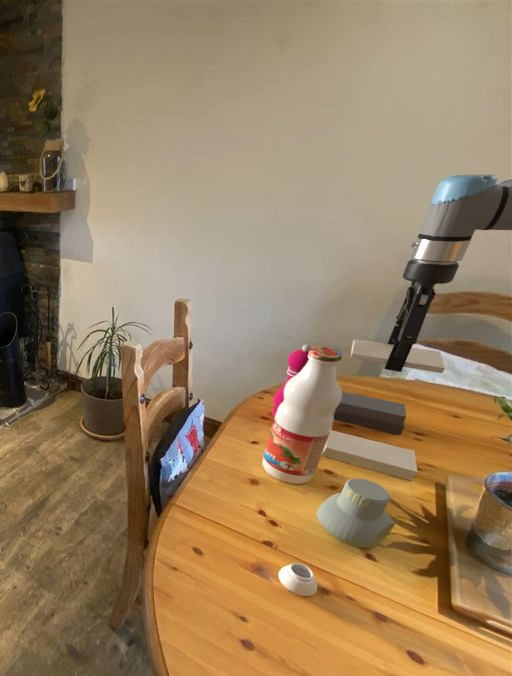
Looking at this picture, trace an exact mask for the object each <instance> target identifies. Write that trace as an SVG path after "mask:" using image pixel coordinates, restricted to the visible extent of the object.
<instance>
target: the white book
mask: <svg viewBox="0 0 512 676" xmlns="http://www.w3.org/2000/svg"><path fill="white" fill-rule="evenodd" d="M393 346H394V345H391V344H387V343H383V342H375V341H370V340H369V341H368V340H364V339H363V340H362V339H356V338H355V339H353V341H352V344H351V352H350V359H354V360H359V361H360V360H361V361H367V362H373V363H378V364H384V365H386V363H387V361H388V358H389V356H390V353H391V351H392V348H393ZM403 368H407V369H408V368H409V369H415V370H420V371H427V372H432V373H438V374H443V373H444V371H445V369H446V368H445V364H444V361H443V356H442V353H441V351H438V350H432V349H423V348H418V347H412V348H411V350H410V352H409V355H408V357H407V359H406V362H405V364H404V366H403Z"/></svg>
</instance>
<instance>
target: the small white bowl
mask: <svg viewBox="0 0 512 676" xmlns="http://www.w3.org/2000/svg"><path fill="white" fill-rule="evenodd" d="M278 579H279V581H280V583H281V584H282V585H283V586H284V587H285V589H287V590H289V591H290V592H292V593H293V594H296V595H298V596H303V597H311V596H313V595H315V594H316V593H317V591H318V583H317V580H316V577H315V575H314V573H313V571H312V569H311V568H310V567H308V566H307V565H305V564H304V563H301V562H292V563H290V564H288V565H287V564H286V565H285V566H283V567H281V569H280V570H279V571H278Z"/></svg>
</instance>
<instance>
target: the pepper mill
mask: <svg viewBox="0 0 512 676" xmlns="http://www.w3.org/2000/svg"><path fill="white" fill-rule="evenodd" d="M311 348H312V346H311V345H310V344H304V345H303V346H302V348H301V349H297V350H294V351H292V352H291V353H290V354H289V356H288V359H287V364H288V365H289V366H288V367H287V371H286V374H287V378H286V380H285V383H284V384H283V385H282V386H281V387H280V388H279V389H278V390H277V392H276V393H275V395H274V397H273V398H272V399H273V404H274V406H273V407H272V410H271V411H272V412H271V415H272V416H273V417H274V418H275V415H276V412H277V409H278V407H279V405H280V404H281V403H282V402H283V401H284V388H285V385H286V383H287V382H288V381H289V380H290V379H291V378H293V377H294V376H296V375H297V374H298V373H299V372H300V371H301V370H302V369H303V368H304V366H305V365H306V364H307V362H308V360H309V358H308V353H309V351H310V349H311Z"/></svg>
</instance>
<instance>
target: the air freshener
mask: <svg viewBox="0 0 512 676" xmlns="http://www.w3.org/2000/svg"><path fill="white" fill-rule="evenodd" d="M390 500H391V495H390V493H389V492H388V491H387V490H386V488H384V487H383V486H382V485H380V484H378V483H376V482H374V481H372V480H369V479H364V478H351V479H348V480H346V481H345V483H344V485H343V488H342V490H341V492H338V493H335V494H332V495H330V496H329V497H328V498H327V499H326V500H325V501H324V502H323V503H322V504H321V505H320V506H319V507H318V508H317V510H316V513H315V516H316V518H317V520H318V522H319V523H320V525H321V526H322V527H323V529H324V530H325V531H327V532H328V533H329V534H330V535H331V536H333V537H334V538H336V539H338V540H339V541H341V542H344V543H346V544H349V545H351V546H354V547H359V548H364V549H373V548H374V547H376V546H378V545H379V544H380V543H381V542H382V541H383V540H385V538H386V537H387V536H389V534H390V533H391V531H392V530H393V528H394V526H395V521H394V520H393V519H392V516H390V515H389V513H388V512H387V511H386V508H387V507H388V504H389V502H390Z"/></svg>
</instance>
